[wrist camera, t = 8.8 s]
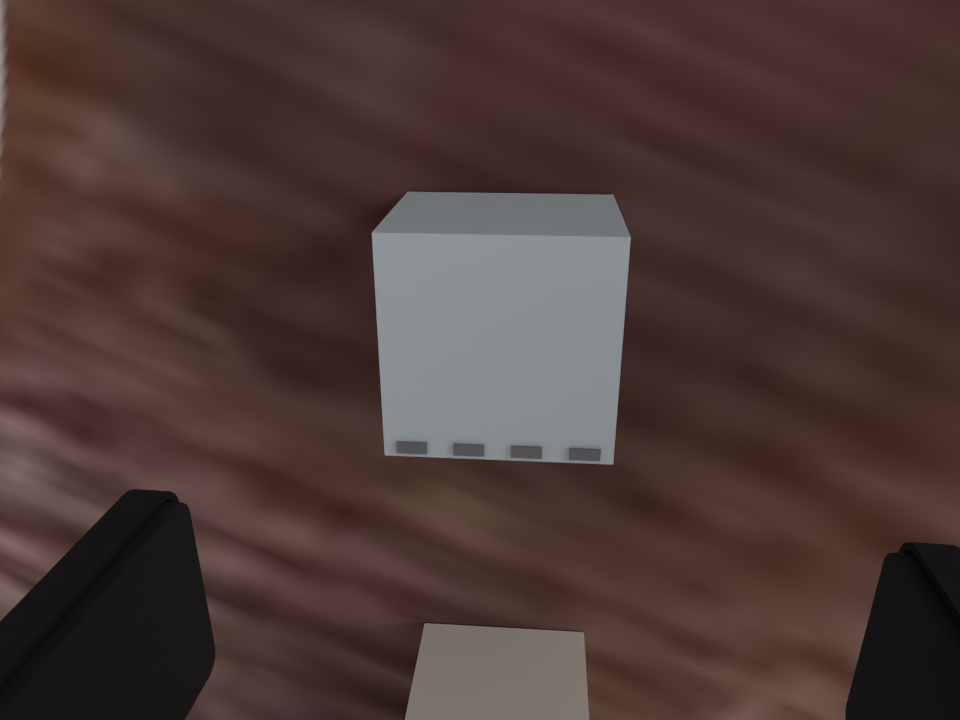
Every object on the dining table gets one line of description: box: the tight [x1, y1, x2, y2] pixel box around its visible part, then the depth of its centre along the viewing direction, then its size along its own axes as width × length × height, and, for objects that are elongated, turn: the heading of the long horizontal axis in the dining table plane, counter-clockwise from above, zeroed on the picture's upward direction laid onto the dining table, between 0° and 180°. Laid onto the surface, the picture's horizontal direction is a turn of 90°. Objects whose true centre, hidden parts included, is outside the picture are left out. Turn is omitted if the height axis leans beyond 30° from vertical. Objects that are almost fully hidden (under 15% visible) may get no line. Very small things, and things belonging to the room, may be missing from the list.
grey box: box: [372, 192, 631, 465], centre depth 21 cm, size 6×6×5 cm
